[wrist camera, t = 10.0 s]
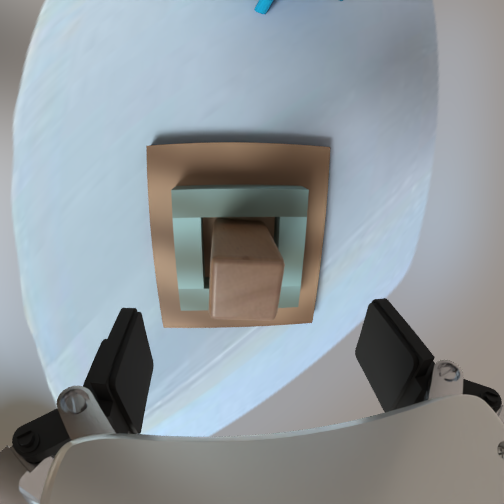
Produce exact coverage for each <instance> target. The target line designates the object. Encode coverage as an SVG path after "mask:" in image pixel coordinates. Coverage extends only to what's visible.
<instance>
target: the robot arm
mask: <svg viewBox="0 0 504 504" xmlns="http://www.w3.org/2000/svg"><path fill="white" fill-rule="evenodd" d="M355 355H356V358H357V360H358V362H359V364H360V366H361V367H362V369H363V371H364V373H365V375H366V377H367V379H368V381H369V383H370V385H371V387H372V388H373V390H374V392H375V394H376V396H377V398H378V400H379V402H380V404H381V406H382V408H383V410H384V411H385V413H382V414H378V415H374V416H370V417H366V418H362V419H358V420H354V421H349V422H344V423H340V424H334V425H330V426H323V427H318V428H312V429H306V430H298V431H290V432H283V433H273V434H262V435H248V436H231V437H230V436H228V437H181V436H158V435H142V434H140V433H141V429H142V423H143V417H144V412H145V406H146V401H147V396H148V391H149V386H150V381H151V377H152V372H153V359H152V355H151V351H150V347H149V343H148V339H147V335H146V331H145V326H144V322H143V318H142V314H141V312H137V310H136V308H122V309H121V311H120V313H119V315H118V317H117V319H116V321H115V323H114V326H113V328H112V330H111V332H110V334H109V337H108V339H104V340H103V341H102V343H101V345H100V347H99V349H98V352H97V354H96V356H95V358H94V361H93V363H92V365H91V368H90V370H89V373H88V375H87V377H86V380H85V382H84V385H83V387H82V386H72V387H68V388H67V389H65V390H63V391H62V392H61V393H60V395H59V397H58V399H57V409H55V410H53V411H51V412H49V413H48V414H45V415H43V416H41V417H39V418H37V419H35V420H33V421H31V422H29V423H27V424H25V425H23V426H21V427H19V428H18V429H17V430H16V432H15V433H14V435H13V441H12V443H13V445H12V446H11V447H10V448H9V447H8V446H6V447H5V448H4V449H3V450H2V451H1V452H0V504H504V403H503V405H502V402H501V398H500V395H499V394H498V393H497V392H496V391H495V390H494V389H491V388H489V387H486V386H483V385H480V384H477V383H474V382H471V381H468V380H465V379H463V372H462V370H461V368H460V367H459V366H458V365H457V364H456V363H454V362H452V361H449V360H440V361H438V362H437V363H436V364H435V363H434V362H433V360H434V356H433V355H432V353H431V352H430V351H429V350H428V348H427V347H426V346H425V345H424V343H423V342H422V341H421V339H420V338H419V337H418V336H417V335H416V333H415V332H414V331H413V330H412V329H411V327H410V326H409V325H408V323H407V322H406V321H405V320H404V319H403V317H402V316H401V315H400V314H399V313H398V311H397V310H396V309H395V308H394V307H393V306H392V304H391V303H390V302H389V301H388V300H387V299H385V298H384V299H375V300H373V301H372V303H370V304H369V306H368V309H367V313H366V316H365V320H364V324H363V327H362V330H361V334H360V337H359V340H358V344H357V347H356V350H355Z"/></svg>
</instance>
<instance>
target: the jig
mask: <svg viewBox="0 0 504 504" xmlns="http://www.w3.org/2000/svg"><path fill="white" fill-rule="evenodd" d="M329 161H330V147H322V146H310V145H295V144H277V143H238V142H222V143H184V144H165V145H151V146H147V179H148V198H149V213H150V226H151V237H152V247H153V257H154V265H155V273H156V281H157V288H158V295H159V302H160V309H161V315H162V321H163V327H164V328H217V327H250V326H271V325H288V324H302V323H312V320H313V314H314V307H315V301H316V293H317V286H318V279H319V271H320V263H321V254H322V245H323V236H324V226H325V216H326V204H327V192H328V178H329ZM216 219H234V220H249V221H261V222H263V223H265V225H266V227H267V229H268V231H269V232H270V234H271V236H272V238H273V240H274V242H275V244H276V246H277V248H278V250H279V252H280V254H281V256H282V258H283V259H284V263H285V267H284V274H283V280H282V286H281V293H280V299H279V305H278V311H277V315H276V317H275V319H274V320H271V321H263V320H226V319H214V318H211V316H210V314H209V281H210V259H211V247H212V235H213V224H214V222H215V220H216Z"/></svg>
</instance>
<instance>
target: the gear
mask: <svg viewBox="0 0 504 504" xmlns="http://www.w3.org/2000/svg"><path fill="white" fill-rule="evenodd" d="M340 1H343V0H340ZM272 2H273V0H259V2H258V3H257V5H256V7H255V9H254V10H255V11H256V12H258V13H261V14H266V13H267V11H268V9H269V7H270V6H271V4H272Z"/></svg>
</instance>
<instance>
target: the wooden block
mask: <svg viewBox="0 0 504 504" xmlns="http://www.w3.org/2000/svg"><path fill="white" fill-rule="evenodd" d="M284 267H285V263H284V259H283V258H282V256H281V254H280V252H279V250H278V248H277V246H276V244H275V242H274V240H273V238H272V236H271V234H270V232H269V231H268V229H267V227H266V225H265V223H263V222H261V221H249V220H234V219H216V220H215V222H214V224H213V235H212V247H211V259H210V281H209V314H210V316H211V318H214V319H226V320H263V321H271V320H274V319H275V317H276V315H277V311H278V305H279V299H280V293H281V286H282V280H283V274H284Z"/></svg>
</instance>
